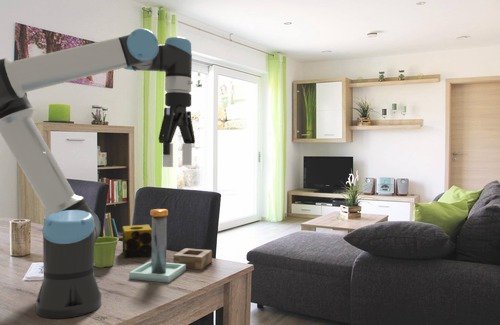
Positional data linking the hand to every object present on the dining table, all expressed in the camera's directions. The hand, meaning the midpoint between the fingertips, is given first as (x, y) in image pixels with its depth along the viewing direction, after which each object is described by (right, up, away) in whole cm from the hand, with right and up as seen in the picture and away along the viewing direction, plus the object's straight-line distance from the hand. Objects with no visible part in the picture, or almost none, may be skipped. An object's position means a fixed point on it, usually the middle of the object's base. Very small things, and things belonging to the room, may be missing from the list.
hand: (177, 165), depth 126 cm
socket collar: (+2, -34, +22) cm, 40 cm away
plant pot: (-28, -34, +19) cm, 48 cm away
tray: (-8, -34, +9) cm, 36 cm away
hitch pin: (-8, -33, +9) cm, 36 cm away
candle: (-21, -33, +35) cm, 52 cm away
